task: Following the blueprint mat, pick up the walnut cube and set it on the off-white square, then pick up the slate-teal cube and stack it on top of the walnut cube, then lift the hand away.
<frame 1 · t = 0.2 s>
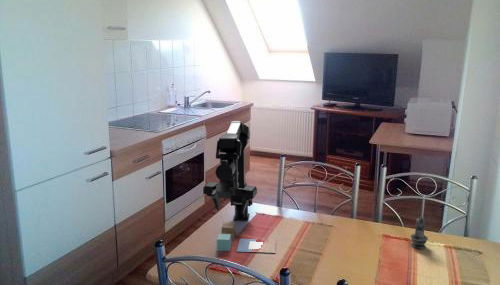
hand: (230, 212, 150), 14 cm above the table, tool pointing down, fingers open, 9 cm apart
dark grey flanged nozzle: (418, 246, 152), on the table
walnut cube: (228, 235, 163), on the table
blueprint mat: (257, 246, 154), on the table
teal cube: (224, 247, 153), on the table
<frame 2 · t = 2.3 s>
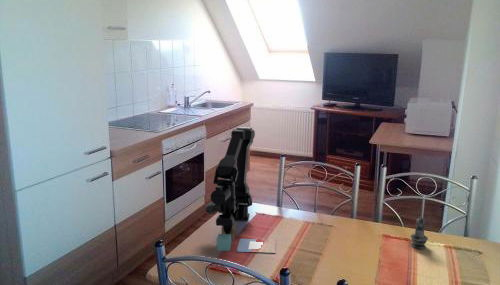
hand: (228, 232, 162), 1 cm above the table, tool pointing down, fingers closed on walnut cube, 4 cm apart
walnut cube: (228, 235, 163), on the table, touching gripper
everything else where it was.
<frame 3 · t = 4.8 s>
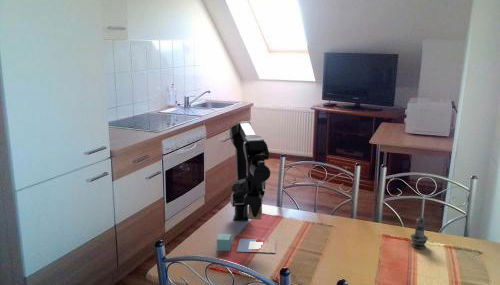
hand: (255, 214, 151), 13 cm above the table, tool pointing down, fingers closed on walnut cube, 4 cm apart
walnut cube: (255, 216, 151), point 12 cm above the table, touching gripper
everything else where it was.
when the fingers open (2 cm above the table, at t = 7.1 s): walnut cube drops 1 cm, resting on blueprint mat.
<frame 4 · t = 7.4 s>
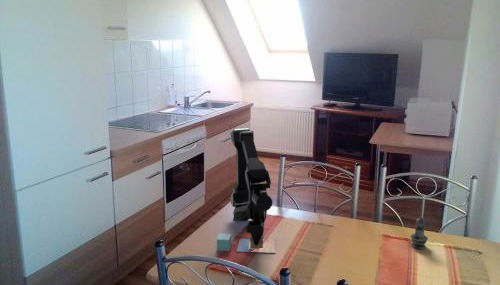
hand: (257, 240, 153), 2 cm above the table, tool pointing down, fingers open, 8 cm apart
walnut cube: (256, 245, 154), resting on blueprint mat
everything else where it was.
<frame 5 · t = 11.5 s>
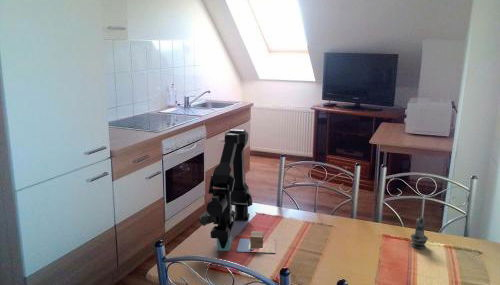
hand: (224, 245, 153), 1 cm above the table, tool pointing down, fingers closed on teal cube, 4 cm apart
teal cube: (224, 247, 153), on the table, touching gripper
everything else where it was.
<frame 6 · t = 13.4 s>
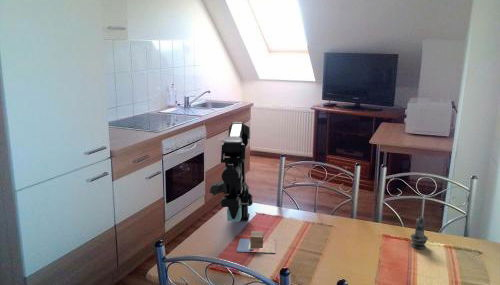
hand: (234, 216, 150), 12 cm above the table, tool pointing down, fingers closed on teal cube, 4 cm apart
teal cube: (234, 218, 150), point 11 cm above the table, touching gripper
everything else where it was.
when the fingers open (7 cm above the table, at t = 15.4 s): teal cube drops 1 cm, resting on walnut cube.
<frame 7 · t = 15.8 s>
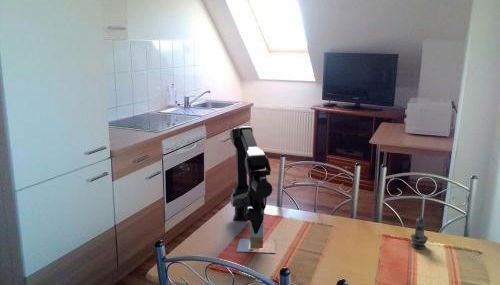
hand: (256, 228, 152), 7 cm above the table, tool pointing down, fingers open, 9 cm apart
walnut cube: (256, 245, 154), resting on blueprint mat, touching teal cube
teal cube: (257, 234, 152), point 5 cm above the table, touching walnut cube
everything else where it was.
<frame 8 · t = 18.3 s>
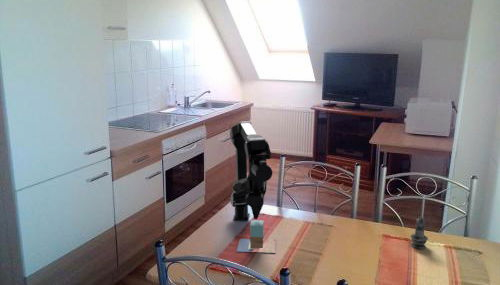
hand: (256, 213, 150), 13 cm above the table, tool pointing down, fingers open, 9 cm apart
nothing on the table moved.
at the end: walnut cube 0.1 cm off-centre on the blueprint mat, point 0.4 cm above the blueprint mat's base; teal cube 0.1 cm off-centre on the walnut cube, point 4.5 cm above the walnut cube's base; teal cube tilted 0° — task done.
